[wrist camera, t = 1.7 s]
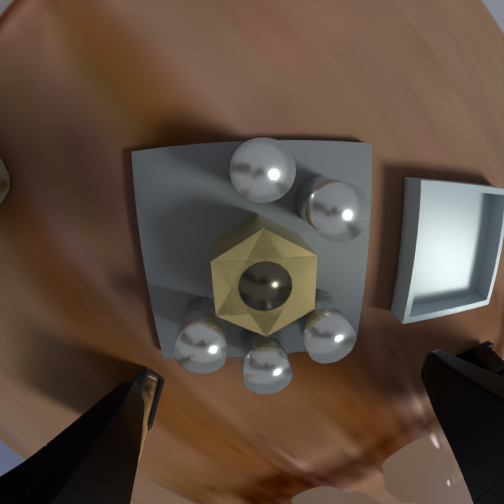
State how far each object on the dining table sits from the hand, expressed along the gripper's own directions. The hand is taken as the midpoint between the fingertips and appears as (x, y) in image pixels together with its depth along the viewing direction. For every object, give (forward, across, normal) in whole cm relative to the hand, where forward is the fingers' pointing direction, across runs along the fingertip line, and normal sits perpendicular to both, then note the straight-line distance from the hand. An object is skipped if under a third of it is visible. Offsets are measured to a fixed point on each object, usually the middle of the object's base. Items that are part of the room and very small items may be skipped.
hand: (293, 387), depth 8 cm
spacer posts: (+11, 0, 0) cm, 11 cm away
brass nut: (+10, 0, 0) cm, 10 cm away
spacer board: (+11, 0, 0) cm, 11 cm away
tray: (+11, -15, 0) cm, 19 cm away
